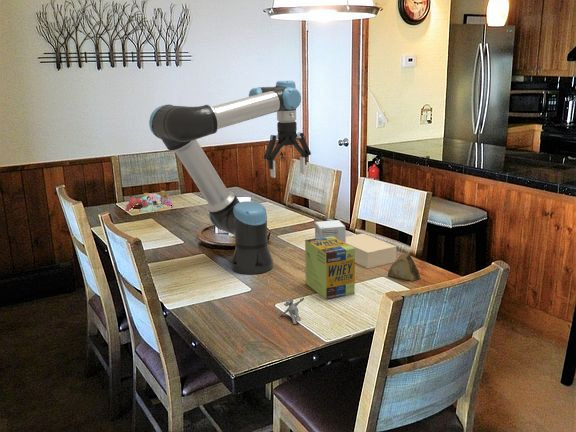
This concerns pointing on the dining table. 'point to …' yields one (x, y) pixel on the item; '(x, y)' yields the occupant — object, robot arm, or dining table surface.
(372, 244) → the sleeve
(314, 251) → the protein box
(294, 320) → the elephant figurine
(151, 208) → the candy landscape model
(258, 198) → the dining table surface
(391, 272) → the rock
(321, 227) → the supplement box
